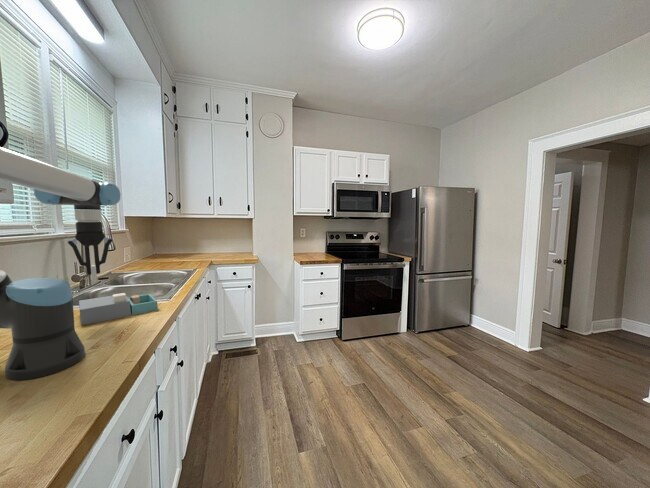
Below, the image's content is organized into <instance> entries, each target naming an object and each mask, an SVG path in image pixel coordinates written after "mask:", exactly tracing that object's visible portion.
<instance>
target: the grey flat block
mask: <svg viewBox="0 0 650 488" xmlns="http://www.w3.org/2000/svg"><path fill="white" fill-rule="evenodd" d="M78 305H79V306H78V307H79V308H78V309H79V316H80V325H81V326H85V325H89V324H95V323H99V322H104V321H110V320H115V319H119V318H120V319H121V318H124V317H129V316H132V314H131V309H130V301H129V299H128V296H127V295H126V301H122V302H117V303H114V302H113V297H112V295H107V296H101V297H95V298H88V299H81V300H78Z"/></svg>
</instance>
